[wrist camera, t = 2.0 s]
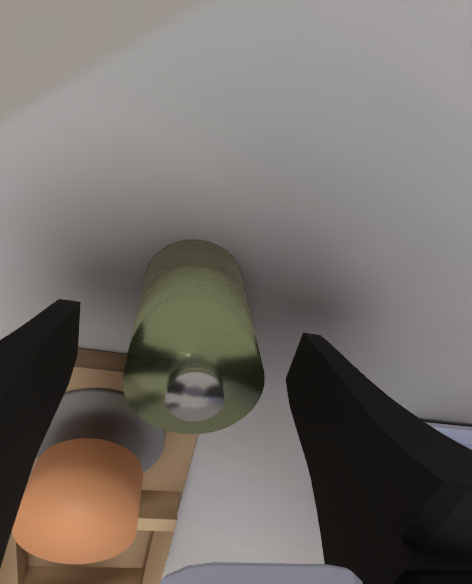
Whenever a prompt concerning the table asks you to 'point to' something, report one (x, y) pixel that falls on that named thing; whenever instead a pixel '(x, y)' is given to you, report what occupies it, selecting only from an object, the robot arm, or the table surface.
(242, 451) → the table surface
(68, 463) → the button
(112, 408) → the board
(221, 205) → the table surface
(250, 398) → the cell
